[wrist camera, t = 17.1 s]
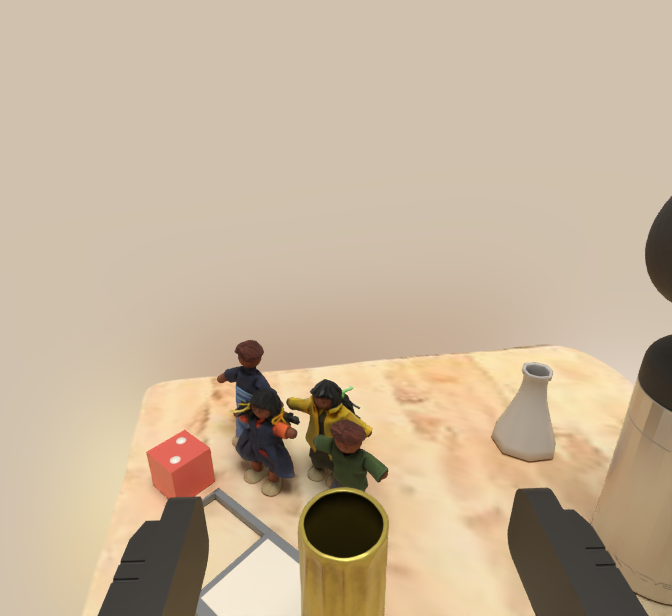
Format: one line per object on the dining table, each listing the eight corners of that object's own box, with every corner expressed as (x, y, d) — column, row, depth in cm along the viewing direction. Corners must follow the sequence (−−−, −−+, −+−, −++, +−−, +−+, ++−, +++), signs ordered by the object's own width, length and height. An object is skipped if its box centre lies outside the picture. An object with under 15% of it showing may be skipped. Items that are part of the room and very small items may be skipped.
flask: (494, 459, 53) (508, 385, 49) (487, 419, 60) (498, 350, 55) (563, 467, 52) (582, 391, 48) (547, 425, 59) (564, 355, 54)
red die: (190, 461, 53) (184, 429, 51) (215, 481, 50) (210, 447, 48) (153, 485, 50) (146, 451, 48) (177, 507, 47) (171, 472, 45)
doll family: (182, 467, 52) (163, 364, 47) (231, 419, 60) (219, 325, 54) (380, 541, 44) (386, 425, 38) (408, 475, 51) (416, 370, 46)
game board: (219, 493, 49) (218, 487, 48) (421, 656, 35) (422, 649, 34) (137, 553, 43) (136, 546, 42) (344, 781, 29) (344, 773, 28)
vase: (284, 697, 32) (273, 551, 26) (315, 610, 37) (312, 471, 31) (373, 731, 30) (384, 584, 24) (392, 634, 35) (405, 493, 29)
